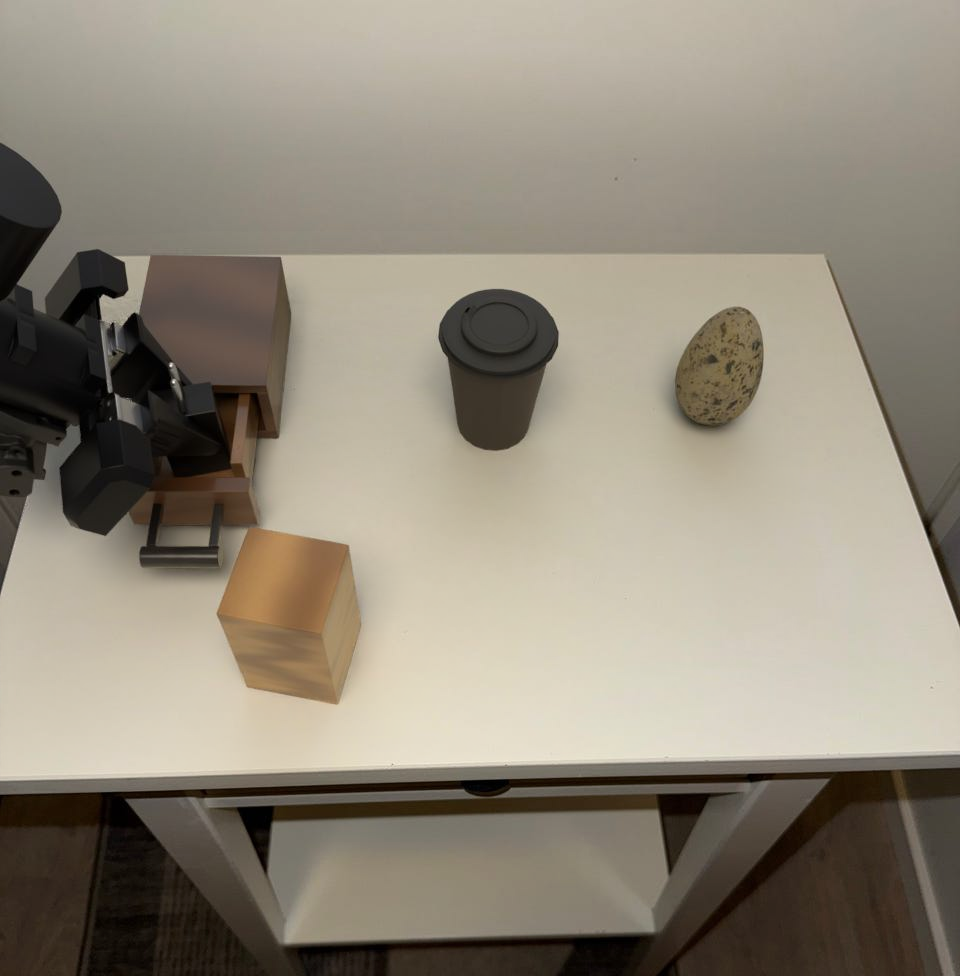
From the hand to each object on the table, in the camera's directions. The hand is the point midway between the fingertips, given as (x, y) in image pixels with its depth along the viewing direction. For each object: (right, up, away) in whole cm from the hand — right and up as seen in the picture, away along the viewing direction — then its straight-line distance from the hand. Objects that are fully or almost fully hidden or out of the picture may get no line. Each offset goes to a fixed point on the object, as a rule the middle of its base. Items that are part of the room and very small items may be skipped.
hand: (214, 432), depth 66 cm
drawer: (-2, -3, +2) cm, 4 cm away
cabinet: (-2, +6, +8) cm, 11 cm away
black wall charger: (-1, -2, +2) cm, 3 cm away
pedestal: (+7, -15, -3) cm, 17 cm away
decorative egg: (+35, +3, +8) cm, 36 cm away
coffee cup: (+19, +2, +7) cm, 20 cm away
